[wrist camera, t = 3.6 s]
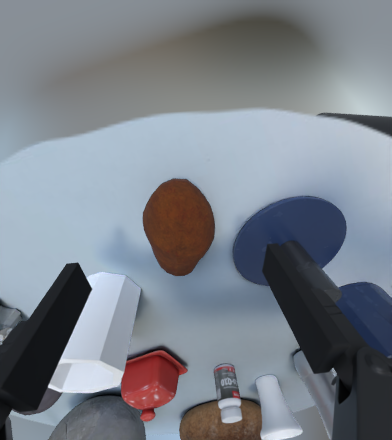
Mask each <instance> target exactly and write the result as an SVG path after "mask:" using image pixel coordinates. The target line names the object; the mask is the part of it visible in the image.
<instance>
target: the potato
mask: <svg viewBox="0 0 392 440" xmlns="http://www.w3.org/2000/svg"><path fill="white" fill-rule="evenodd" d="M143 226H144V231H145V233H146V236H147V238H148V240H149V242H150V244H151V246H152V249H153V252H154V255H155V257H156V259H157V261H158V263H159V265H160V266H161V268H162V269H164V270H165V271H166V272H167V273H169V274H172V275H174V276H185V275H187V274H189V273H191V272H192V271H193V269H194V267H195V266H196V265H197V263H198V262H199V260H200V259H201V258H202V257H203V256H204V255H205V253H206V252H207V251H208V249H209V248H210V246H211V243H212V241H213V239H214V232H215V223H214V216H213V212H212V209H211V206H210V204H209V203H208V201H207V199H206V198H205V196H204V195H203V194H202V193H201V191H200V190H199V189H198V188H197V187H196V186H195V185H193V184H192V183H191V182H189V181H188V180H186V179H171V180H169V181H167V182H164V183H162V184H161V185H160V186H159V187H158V188H157V189H156V191H155V192H154V193H153V194H152V195H151V197H150V199H149V201H148V203H147V205H146V207H145V210H144V212H143Z"/></svg>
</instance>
